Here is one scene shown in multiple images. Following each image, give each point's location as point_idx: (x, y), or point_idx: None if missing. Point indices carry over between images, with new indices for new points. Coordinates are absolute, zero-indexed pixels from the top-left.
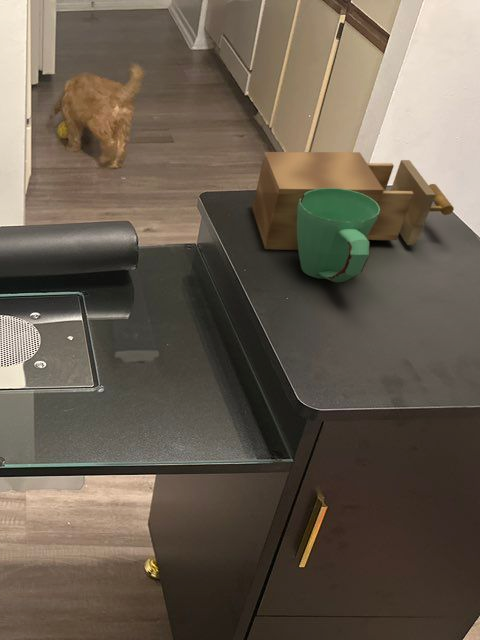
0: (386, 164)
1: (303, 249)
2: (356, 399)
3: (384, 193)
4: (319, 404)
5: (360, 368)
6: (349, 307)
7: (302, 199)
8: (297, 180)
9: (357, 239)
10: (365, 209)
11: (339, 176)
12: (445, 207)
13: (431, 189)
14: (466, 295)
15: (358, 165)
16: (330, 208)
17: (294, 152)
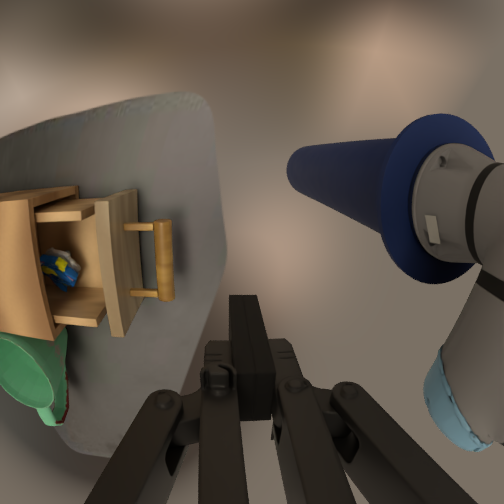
0: (71, 216)
1: (23, 353)
2: (94, 452)
3: (62, 323)
4: (77, 451)
5: (94, 436)
6: (80, 385)
7: None
8: None
9: (46, 424)
10: (46, 358)
11: (5, 295)
12: (160, 300)
13: (120, 321)
14: (181, 375)
15: (23, 257)
16: None
17: None
